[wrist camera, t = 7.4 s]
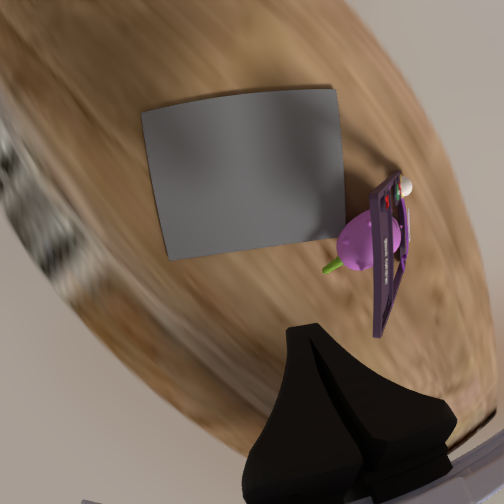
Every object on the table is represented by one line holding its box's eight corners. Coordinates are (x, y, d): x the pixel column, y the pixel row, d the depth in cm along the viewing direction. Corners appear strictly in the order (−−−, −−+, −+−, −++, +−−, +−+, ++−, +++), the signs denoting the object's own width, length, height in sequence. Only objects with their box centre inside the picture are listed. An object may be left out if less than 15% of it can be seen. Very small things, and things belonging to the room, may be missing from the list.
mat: (344, 234, 18) (345, 235, 18) (170, 258, 18) (169, 261, 18) (334, 89, 15) (336, 89, 14) (142, 112, 14) (140, 112, 14)
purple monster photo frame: (396, 193, 10) (411, 169, 17) (277, 198, 13) (339, 173, 20) (394, 342, 12) (415, 265, 19) (296, 327, 15) (349, 261, 22)
